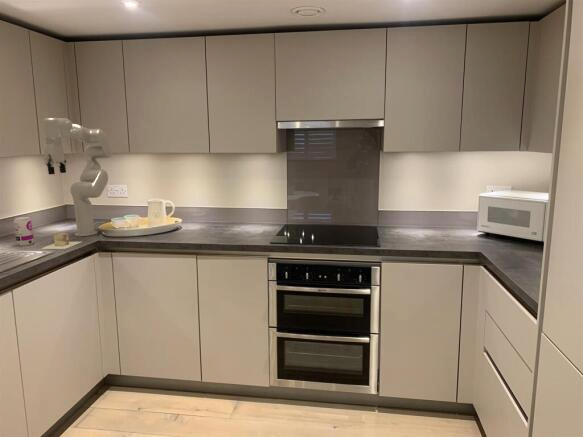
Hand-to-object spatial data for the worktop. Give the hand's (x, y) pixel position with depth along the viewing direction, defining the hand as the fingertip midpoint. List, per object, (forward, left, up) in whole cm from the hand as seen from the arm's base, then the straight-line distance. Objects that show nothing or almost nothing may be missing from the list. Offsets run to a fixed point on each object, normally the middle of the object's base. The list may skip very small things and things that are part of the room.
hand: (57, 173), depth 243 cm
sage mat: (+8, +3, -38) cm, 39 cm away
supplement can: (+6, -20, -38) cm, 44 cm away
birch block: (+8, +3, -38) cm, 39 cm away
